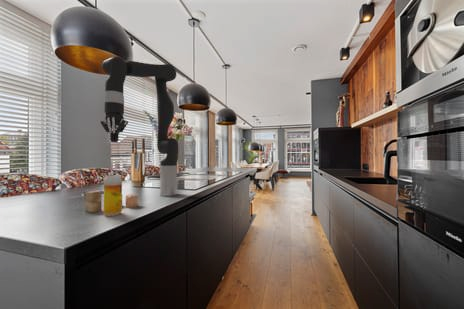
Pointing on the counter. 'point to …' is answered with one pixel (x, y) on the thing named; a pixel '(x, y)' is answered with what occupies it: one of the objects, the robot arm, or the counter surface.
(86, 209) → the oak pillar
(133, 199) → the pinkish brown block
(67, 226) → the counter surface
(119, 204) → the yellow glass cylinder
